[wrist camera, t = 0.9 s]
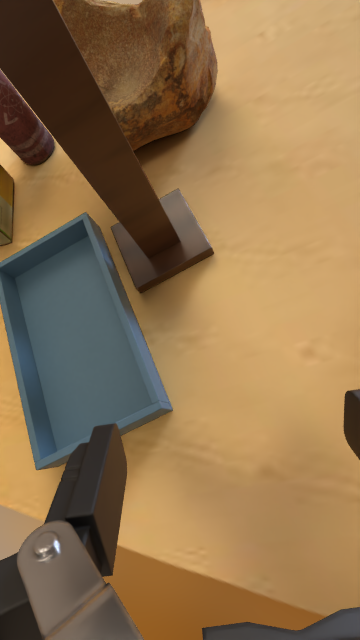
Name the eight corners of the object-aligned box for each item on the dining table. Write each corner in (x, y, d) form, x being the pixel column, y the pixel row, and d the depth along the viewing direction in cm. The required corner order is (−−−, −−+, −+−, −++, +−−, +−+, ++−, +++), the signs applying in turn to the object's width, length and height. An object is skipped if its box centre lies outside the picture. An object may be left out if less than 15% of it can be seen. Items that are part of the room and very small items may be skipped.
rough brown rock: (60, 180, 51) (-20, 100, 37) (83, 89, 54) (17, -18, 40) (206, 179, 45) (176, 80, 30) (224, 75, 47) (204, -60, 33)
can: (50, 128, 55) (-20, 36, 42) (59, 153, 52) (-12, 63, 39) (19, 148, 55) (-59, 63, 42) (28, 173, 53) (-53, 91, 40)
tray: (11, 277, 47) (-8, 266, 44) (99, 226, 45) (85, 211, 42) (57, 467, 37) (35, 470, 33) (173, 410, 35) (162, 408, 32)
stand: (113, 227, 45) (-205, -154, 15) (178, 190, 43) (-32, -301, 14) (143, 300, 40) (-231, -52, 11) (217, 260, 39) (26, -257, 10)
